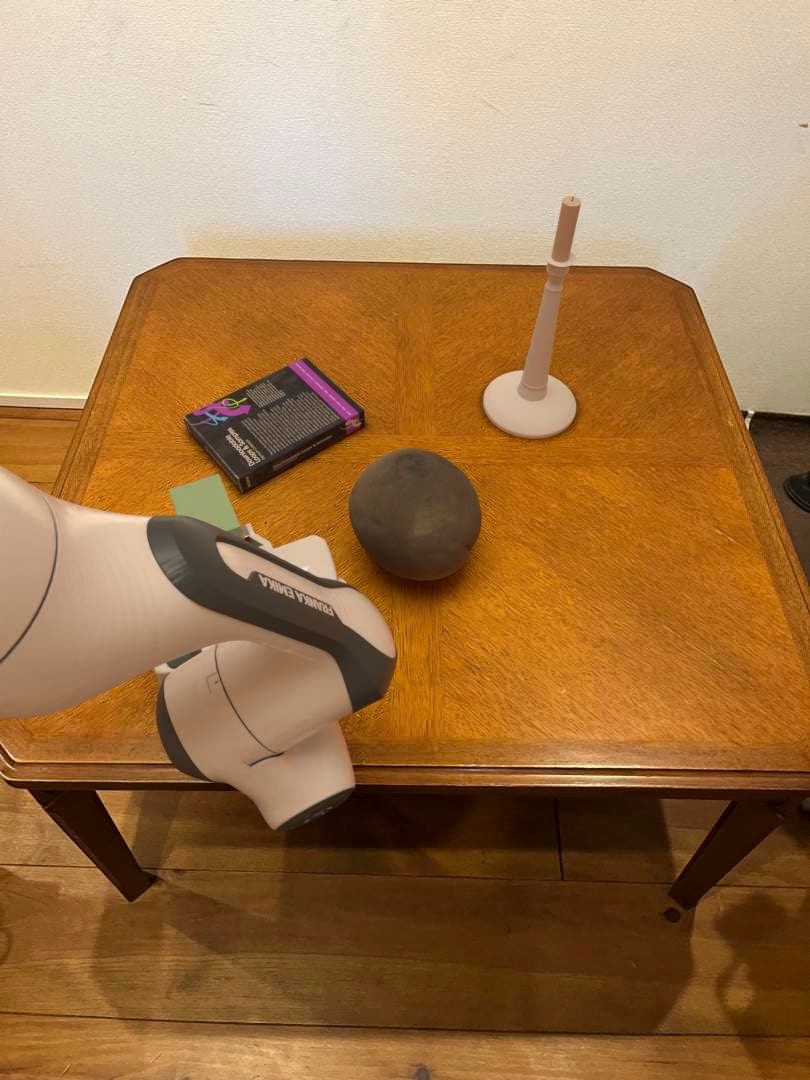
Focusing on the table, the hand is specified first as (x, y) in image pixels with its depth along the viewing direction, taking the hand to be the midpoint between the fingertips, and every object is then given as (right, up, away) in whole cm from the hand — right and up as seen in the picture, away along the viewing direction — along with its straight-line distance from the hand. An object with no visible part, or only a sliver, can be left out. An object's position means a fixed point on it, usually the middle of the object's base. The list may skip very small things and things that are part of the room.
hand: (213, 538), depth 75 cm
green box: (0, -5, +6) cm, 8 cm away
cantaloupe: (+20, -2, +12) cm, 24 cm away
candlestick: (+37, +18, +28) cm, 49 cm away
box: (+2, +15, +24) cm, 28 cm away
